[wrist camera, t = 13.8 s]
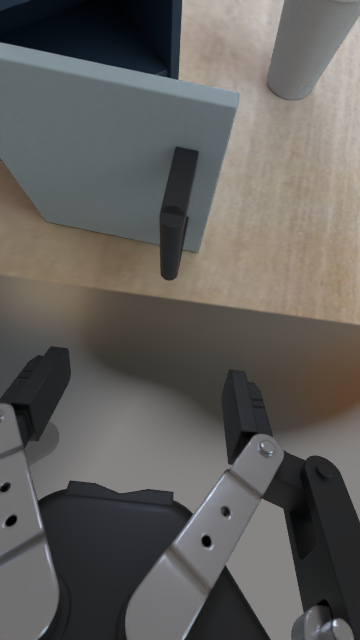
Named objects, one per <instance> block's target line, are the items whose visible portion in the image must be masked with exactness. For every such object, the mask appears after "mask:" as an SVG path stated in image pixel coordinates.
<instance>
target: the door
mask: <svg viewBox="0 0 360 640" xmlns="http://www.w3.org/2000/svg"><path fill="white" fill-rule="evenodd" d="M238 101H239V93H238V92H233V91H228V90H223V89H219V88H214V87H209V86H205V85H200V84H195V83H190V82H186V81H181V80H176V79H171V78H167V77H162V76H157V75H152V74H148V73H143V72H138V71H134V70H129V69H124V68H119V67H115V66H110V65H105V64H100V63H96V62H91V61H86V60H81V59H77V58H72V57H67V56H63V55H58V54H53V53H48V52H44V51H39V50H34V49H29V48H25V47H20V46H15V45H10V44H6V43H1V42H0V159H1V160H2V161H3V163H4V164H5V165H6V167H7V168H8V170H9V171H10V172H11V174H12V175H13V177H14V178H15V179H16V181H17V182H18V183H19V185H20V186H21V188H22V189H23V190H24V192H25V193H26V195H27V196H28V197H29V199H30V200H31V201H32V203H33V204H34V206H35V207H36V208H37V210H38V211H39V213H40V214H41V215H42V217H43V218H44V219H45V221H46V222H50V223H55V224H60V225H65V226H70V227H75V228H80V229H85V230H90V231H95V232H100V233H104V234H109V235H114V236H119V237H124V238H129V239H134V240H139V241H144V242H149V243H154V244H159V245H160V266H161V276H162V277H163V278H164V279H165V280H173V279H175V278H176V277H177V275H178V270H179V265H180V260H181V256H182V251H183V250H188V251H193V252H199V249H200V245H201V242H202V238H203V234H204V231H205V227H206V223H207V219H208V216H209V212H210V208H211V204H212V201H213V197H214V193H215V189H216V186H217V182H218V178H219V174H220V171H221V167H222V163H223V159H224V156H225V152H226V148H227V145H228V141H229V137H230V133H231V130H232V126H233V122H234V118H235V115H236V111H237V107H238Z"/></svg>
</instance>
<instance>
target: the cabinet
mask: <svg viewBox="0 0 360 640" xmlns="http://www.w3.org/2000/svg"><path fill="white" fill-rule="evenodd" d="M181 14H182V0H0V42H1V43H6V44H10V45H15V46H20V47H25V48H29V49H34V50H39V51H44V52H48V53H53V54H58V55H63V56H67V57H72V58H77V59H81V60H86V61H91V62H96V63H100V64H105V65H110V66H115V67H119V68H124V69H129V70H134V71H138V72H143V73H148V74H152V75H157V76H162V77H167V78H171V79H176V80H178V75H179V55H180V34H181Z"/></svg>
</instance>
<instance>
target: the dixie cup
mask: <svg viewBox="0 0 360 640" xmlns="http://www.w3.org/2000/svg"><path fill="white" fill-rule="evenodd" d="M359 16H360V0H284V5H283V9H282V14H281V18H280V23H279V27H278V32H277V36H276V41H275V45H274V49H273V54H272V58H271V63H270V67H269V72H268V76H267V81H268V85H269V87H270V89H271V90H272V91H273V92H274V93H275V94H276V95H278V96H280V97H282V98H284V99H288V100H299V99H302V98H304V97H306V96H307V95H308V94H309V93H310V92H311V90H312V89H313V87H314V86H315V84H316V83H317V81H318V80H319V78H320V76H321V75H322V73H323V72H324V70H325V69H326V67H327V66H328V64H329V62H330V61H331V59H332V58H333V56H334V55H335V53H336V52H337V50H338V48H339V47H340V45H341V44H342V42H343V41H344V39H345V38H346V36H347V34H348V33H349V31H350V30H351V28H352V27H353V25H354V24H355V22H356V20H357V19H358V17H359Z"/></svg>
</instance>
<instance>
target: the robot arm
mask: <svg viewBox="0 0 360 640" xmlns="http://www.w3.org/2000/svg"><path fill="white" fill-rule="evenodd" d="M70 375H71V369H70V359H69V351H68V349H67V348H60V347H53V346H51V347H50V348H49V349H48V351H47V352H46V354H45V355H44V356H40V355H38V356H36V357H35V358H34V359H32V360H30V361H29V362H28V363H27V365H26V366H25V367H24V369H23V370H22V371H21V373H20V374H19V375H18V377H17V378H16V379H15V380H14V382H13V383H12V384H11V386H10V387H9V388H8V389H7V391H6V392H5V393H4V395H3V396H2V397H1V399H0V640H271V639H270V638H269V636H268V635H267V633H266V631H265V630H264V628H263V626H262V625H261V623H260V621H259V620H258V618H257V616H256V615H255V613H254V611H253V610H252V608H251V606H250V605H249V603H248V602H247V600H246V598H245V597H244V595H243V593H242V592H241V590H240V589H239V587H238V585H237V583H236V582H235V580H234V578H233V577H232V575H231V573H230V572H229V570H228V569H227V567H226V565H225V564H226V563H227V561H228V559H229V557H230V555H231V553H232V552H233V550H234V548H235V546H236V544H237V542H238V541H239V539H240V537H241V535H242V534H243V532H244V530H245V528H246V526H247V524H248V523H249V521H250V519H251V517H252V515H253V514H254V512H255V510H256V508H257V506H258V504H259V503H260V501H261V499H262V498H263V499H264V500H266V501H269V502H271V503H273V504H275V505H277V506H279V507H281V508H283V509H284V514H285V519H286V524H287V529H288V534H289V540H290V544H291V550H292V555H293V560H294V565H295V571H296V576H297V581H298V586H299V591H300V596H301V601H302V606H303V612H304V614H302V615H301V616H300V617H299V618H298V619H296V621H295V622H294V625H293V627H292V634H291V638H292V639H291V640H360V522H359V519H358V517H357V514H356V511H355V509H354V506H353V504H352V501H351V499H350V496H349V494H348V491H347V488H346V486H345V483H344V481H343V478H342V476H341V473H340V472H339V470H338V469H337V468H336V466H335V465H333V463H331V462H330V461H328V460H327V459H325V458H323V457H320V456H310V457H309V458H307V460H303V459H301V458H298V457H296V456H294V455H291V454H289V453H287V452H286V451H284V450H283V448H282V446H281V445H280V443H279V442H278V441H277V440H276V439H274V438H273V435H272V431H271V428H270V424H269V420H268V417H267V413H266V410H265V406H264V403H263V399H262V395H261V391H260V390H259V389H258V387H257V386H256V385H255V383H252V382H247V377H246V373H245V371H239V370H231V369H230V370H229V371H228V374H227V378H226V381H225V384H224V388H223V392H222V410H223V420H224V429H225V438H226V447H227V456H228V464H231V465H232V466H231V467H230V469H229V470H228V469H227V470H226V471H225V472H224V473H223V474H222V475H221V477H220V478H219V480H218V481H217V482H216V484H215V485H214V486H213V488H212V489H211V491H210V492H209V493H208V495H207V496H206V498H205V499H204V500H203V502H202V503H201V504H200V506H199V507H198V509H197V510H196V511H195V513H194V514H193V513H192V512H191V511H190V510H188V509H187V508H186V507H185V506H183V505H182V504H180V503H178V502H176V501H174V500H173V492H169V491H160V490H151V489H146V490H140V491H134V492H128V493H117V492H115V491H113V490H110V489H108V488H105V487H103V486H100V485H98V484H96V483H87V482H78V481H69V484H68V487H67V489H64V490H60V491H57V492H54V493H52V494H49V495H47V496H45V497H44V498H42V499H40V500H39V501H38V499H37V495H36V491H35V488H34V484H33V480H32V476H31V472H30V468H29V464H28V460H27V456H26V453H25V449H24V448H25V447H26V445H27V443H28V441H37V442H38V441H39V439H40V437H41V435H42V433H43V431H44V429H45V427H46V425H47V423H48V421H49V419H50V418H51V416H52V414H53V412H54V410H55V408H56V406H57V404H58V402H59V400H60V399H61V397H62V395H63V393H64V391H65V389H66V387H67V385H68V383H69V380H70Z"/></svg>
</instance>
